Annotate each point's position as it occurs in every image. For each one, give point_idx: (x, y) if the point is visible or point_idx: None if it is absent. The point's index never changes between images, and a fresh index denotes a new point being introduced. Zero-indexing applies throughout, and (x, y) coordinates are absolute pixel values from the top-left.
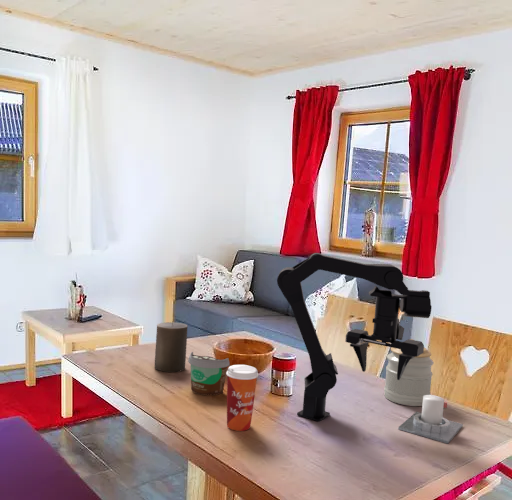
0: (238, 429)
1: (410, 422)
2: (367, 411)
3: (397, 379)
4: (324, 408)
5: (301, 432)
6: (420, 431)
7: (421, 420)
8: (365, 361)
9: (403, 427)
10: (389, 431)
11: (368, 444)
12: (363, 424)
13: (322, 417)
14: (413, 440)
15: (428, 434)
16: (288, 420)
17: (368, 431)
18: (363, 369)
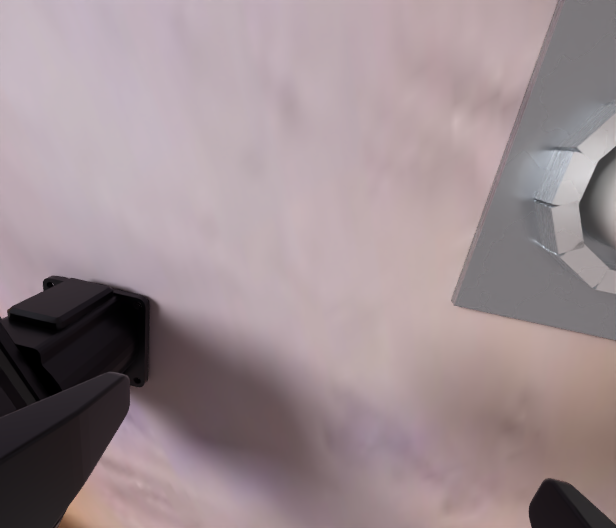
0: None
1: (517, 214)
2: (273, 145)
3: (531, 519)
4: (118, 361)
5: (144, 470)
6: (564, 307)
7: (594, 220)
8: (19, 486)
9: (478, 299)
10: (413, 339)
11: (353, 471)
12: (297, 320)
13: (142, 360)
14: (518, 380)
15: (603, 324)
16: None
17: (331, 376)
18: (107, 441)
